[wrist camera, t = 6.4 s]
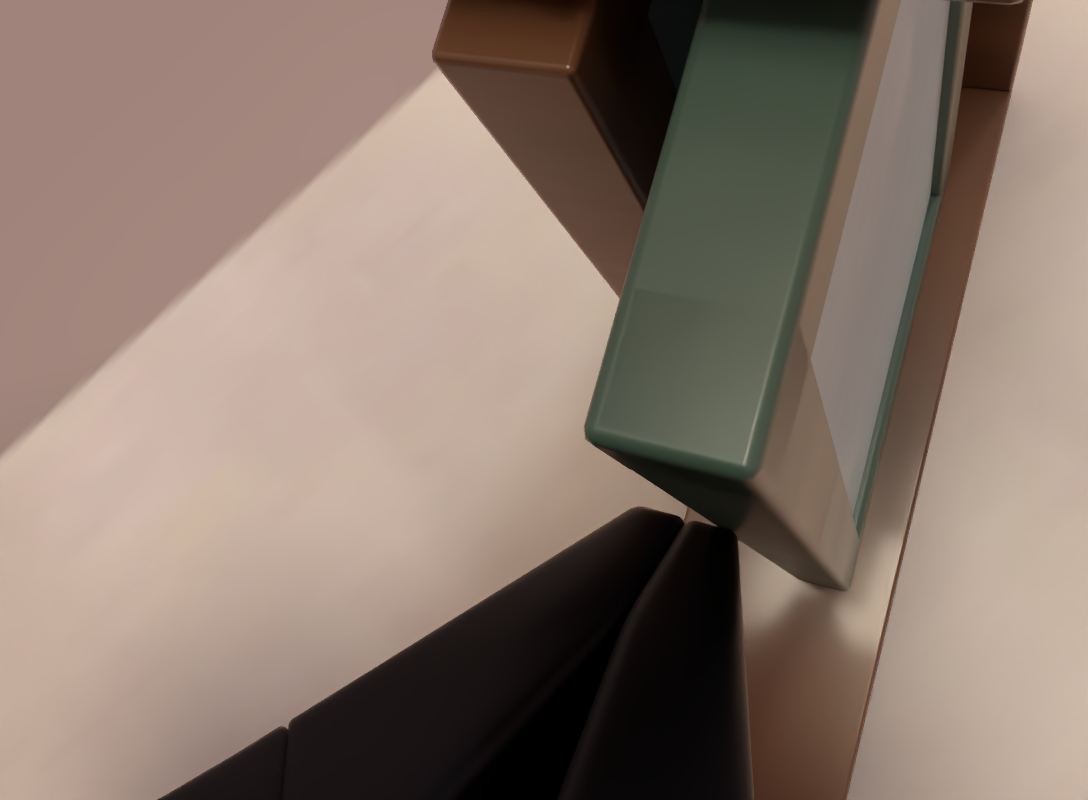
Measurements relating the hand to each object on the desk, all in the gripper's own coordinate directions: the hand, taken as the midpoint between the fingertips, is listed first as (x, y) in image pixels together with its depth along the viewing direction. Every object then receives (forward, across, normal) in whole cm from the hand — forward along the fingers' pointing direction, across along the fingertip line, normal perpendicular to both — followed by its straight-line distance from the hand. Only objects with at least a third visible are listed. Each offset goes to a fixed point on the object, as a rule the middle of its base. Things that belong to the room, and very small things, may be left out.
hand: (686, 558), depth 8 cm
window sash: (+8, -1, +3) cm, 8 cm away
